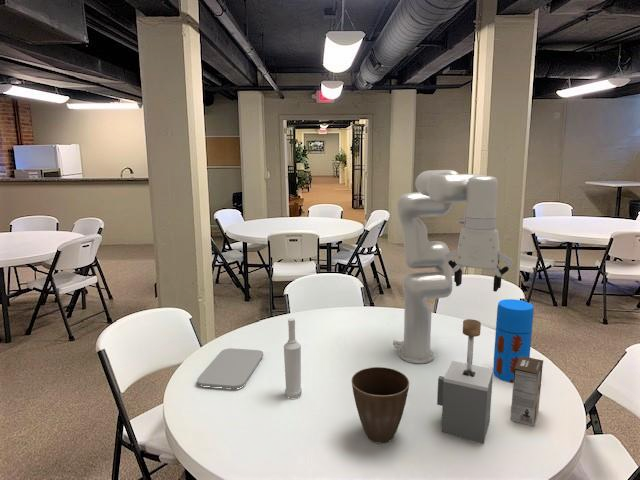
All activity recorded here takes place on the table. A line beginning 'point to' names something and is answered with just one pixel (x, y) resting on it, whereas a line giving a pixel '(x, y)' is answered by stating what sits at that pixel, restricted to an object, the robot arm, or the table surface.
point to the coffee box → (526, 390)
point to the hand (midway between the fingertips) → (476, 287)
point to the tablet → (230, 368)
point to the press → (465, 401)
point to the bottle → (292, 363)
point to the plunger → (470, 340)
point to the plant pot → (380, 401)
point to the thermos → (512, 336)
